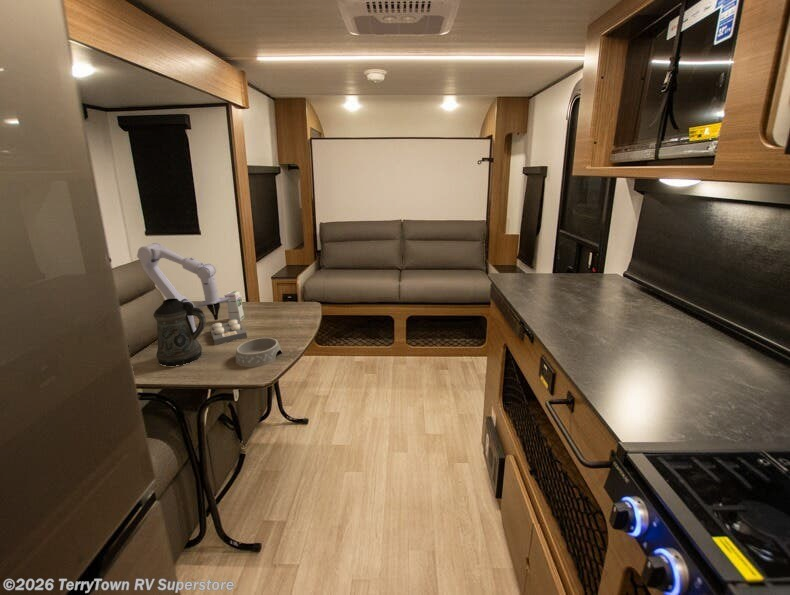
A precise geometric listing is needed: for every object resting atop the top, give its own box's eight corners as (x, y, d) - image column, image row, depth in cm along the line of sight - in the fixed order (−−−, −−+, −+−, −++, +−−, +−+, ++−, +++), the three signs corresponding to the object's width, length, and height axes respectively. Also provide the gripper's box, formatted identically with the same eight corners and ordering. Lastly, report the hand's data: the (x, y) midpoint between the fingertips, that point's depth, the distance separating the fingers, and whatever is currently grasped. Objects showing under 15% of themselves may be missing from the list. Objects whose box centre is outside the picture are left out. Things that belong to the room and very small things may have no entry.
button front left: (215, 337, 182) (214, 331, 181) (214, 334, 185) (213, 328, 184) (225, 334, 184) (224, 329, 183) (224, 332, 187) (223, 326, 186)
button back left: (214, 332, 188) (212, 326, 187) (213, 329, 191) (211, 323, 190) (223, 330, 190) (222, 324, 189) (222, 327, 193) (221, 322, 192)
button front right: (232, 333, 185) (231, 327, 184) (231, 330, 189) (229, 325, 188) (241, 331, 187) (240, 325, 186) (240, 328, 190) (239, 323, 190)
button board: (215, 344, 177) (213, 339, 176) (210, 331, 193) (209, 325, 192) (247, 337, 183) (246, 331, 183) (239, 325, 199) (238, 319, 198)
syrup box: (240, 321, 204) (235, 294, 200) (229, 322, 204) (224, 294, 200) (245, 317, 210) (240, 290, 205) (233, 318, 210) (228, 291, 205)
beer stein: (154, 358, 167) (139, 300, 159) (203, 344, 179) (192, 289, 171) (163, 372, 155) (147, 310, 147) (215, 355, 166) (203, 297, 159)
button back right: (230, 328, 191) (228, 323, 190) (228, 326, 194) (227, 320, 194) (238, 326, 193) (237, 321, 192) (237, 324, 196) (236, 318, 195)
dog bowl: (227, 367, 156) (225, 354, 155) (250, 347, 174) (248, 335, 172) (269, 368, 154) (267, 355, 152) (288, 347, 171) (286, 336, 170)
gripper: (193, 296, 178) (200, 325, 182) (228, 290, 185) (233, 318, 189) (192, 292, 184) (198, 320, 188) (226, 286, 191) (231, 314, 195)
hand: (216, 319), depth 189 cm, fingers closed
